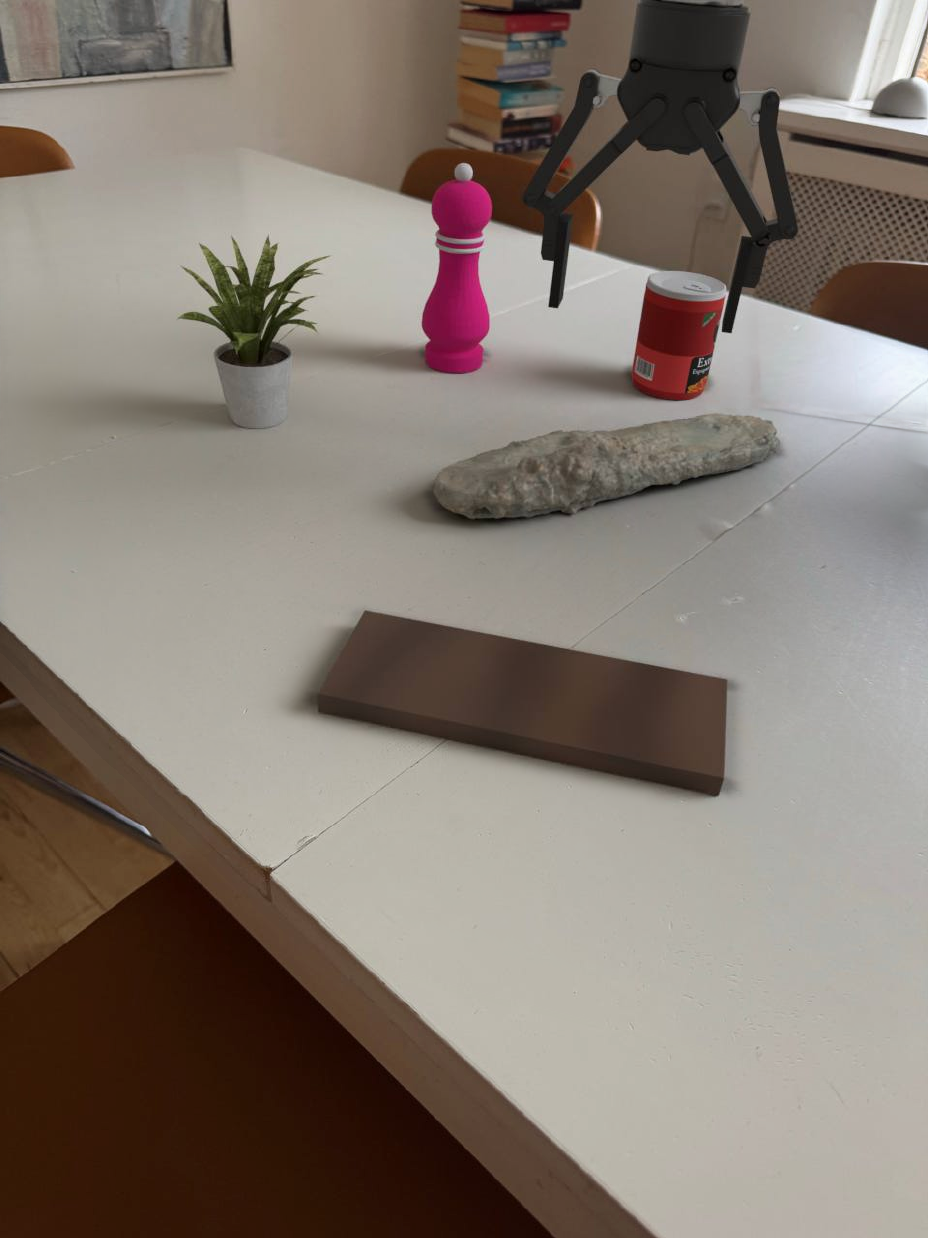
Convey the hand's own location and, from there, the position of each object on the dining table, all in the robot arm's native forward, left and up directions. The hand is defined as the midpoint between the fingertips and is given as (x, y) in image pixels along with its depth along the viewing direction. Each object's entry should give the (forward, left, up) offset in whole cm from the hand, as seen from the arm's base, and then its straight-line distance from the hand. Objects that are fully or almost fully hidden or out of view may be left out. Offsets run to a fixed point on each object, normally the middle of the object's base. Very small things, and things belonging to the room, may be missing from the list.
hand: (640, 315), depth 77 cm
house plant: (+33, 0, -15) cm, 36 cm away
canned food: (-3, -23, -15) cm, 27 cm away
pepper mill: (+20, -21, -15) cm, 32 cm away
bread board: (+2, +32, -15) cm, 35 cm away
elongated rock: (0, 0, -15) cm, 15 cm away
